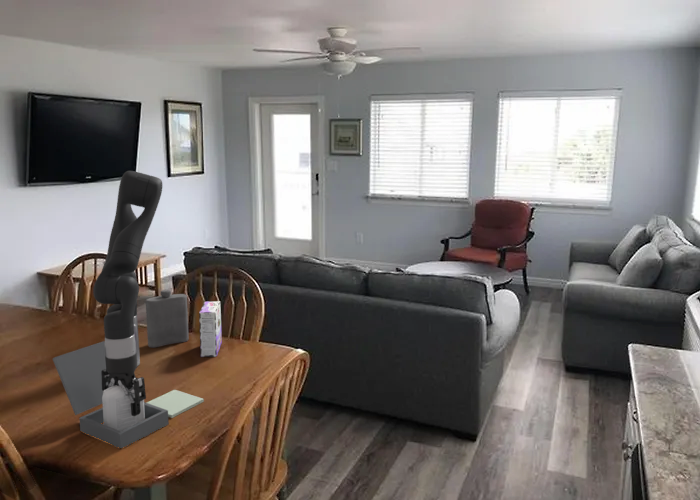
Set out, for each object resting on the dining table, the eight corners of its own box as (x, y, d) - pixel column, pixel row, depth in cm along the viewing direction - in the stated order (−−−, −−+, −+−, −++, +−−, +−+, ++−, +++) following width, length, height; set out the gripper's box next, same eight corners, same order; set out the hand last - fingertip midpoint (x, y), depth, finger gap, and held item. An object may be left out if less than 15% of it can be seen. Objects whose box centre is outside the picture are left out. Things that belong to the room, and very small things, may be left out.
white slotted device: (143, 420, 158) (140, 377, 155) (147, 426, 154) (144, 382, 152) (102, 430, 152) (99, 385, 150) (106, 437, 149) (102, 391, 146)
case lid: (77, 414, 150) (74, 415, 151) (125, 393, 163) (122, 394, 164) (54, 357, 152) (51, 359, 153) (104, 340, 164) (101, 342, 165)
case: (80, 432, 151) (79, 417, 150) (128, 409, 163) (127, 396, 163) (121, 449, 143) (120, 434, 142) (168, 424, 155) (167, 410, 155)
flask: (185, 336, 224) (183, 286, 220) (190, 341, 219) (188, 289, 215) (145, 344, 215) (142, 291, 212) (150, 348, 211) (147, 295, 207)
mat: (142, 407, 165) (142, 404, 165) (174, 392, 175) (174, 389, 175) (172, 417, 159) (171, 415, 159) (203, 401, 169) (203, 398, 169)
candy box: (206, 343, 217) (204, 300, 214) (222, 343, 217) (221, 300, 214) (200, 357, 203) (198, 311, 200) (217, 356, 204) (215, 311, 201)
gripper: (151, 353, 149) (155, 412, 152) (115, 343, 156) (119, 399, 159) (127, 362, 142) (131, 423, 145) (90, 351, 150) (94, 410, 153)
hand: (124, 411), depth 152 cm, fingers open, 8 cm apart
